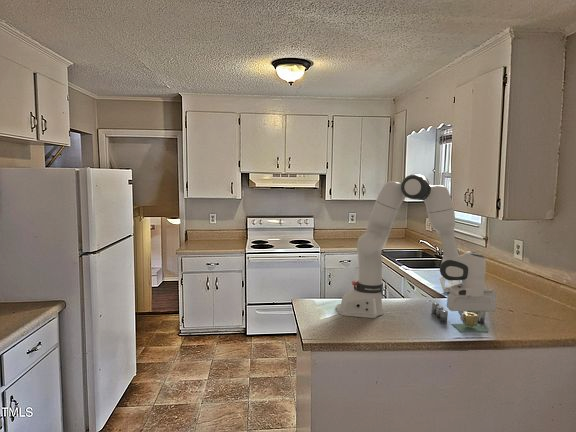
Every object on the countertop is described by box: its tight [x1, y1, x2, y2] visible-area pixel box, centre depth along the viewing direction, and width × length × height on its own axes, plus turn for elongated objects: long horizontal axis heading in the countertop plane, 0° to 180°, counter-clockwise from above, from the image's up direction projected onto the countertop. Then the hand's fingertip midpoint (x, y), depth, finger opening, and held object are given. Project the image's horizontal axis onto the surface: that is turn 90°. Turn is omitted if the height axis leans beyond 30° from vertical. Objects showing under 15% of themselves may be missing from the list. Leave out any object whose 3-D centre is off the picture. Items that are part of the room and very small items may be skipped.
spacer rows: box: [431, 302, 486, 325], centre depth 183 cm, size 20×13×5 cm, turn 91°
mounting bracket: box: [439, 276, 462, 293], centre depth 223 cm, size 12×6×11 cm, turn 121°
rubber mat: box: [451, 323, 489, 333], centre depth 171 cm, size 12×8×1 cm, turn 91°
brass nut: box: [462, 311, 478, 327], centre depth 171 cm, size 5×6×5 cm
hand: (470, 320), depth 171 cm, fingers closed on brass nut, 5 cm apart
